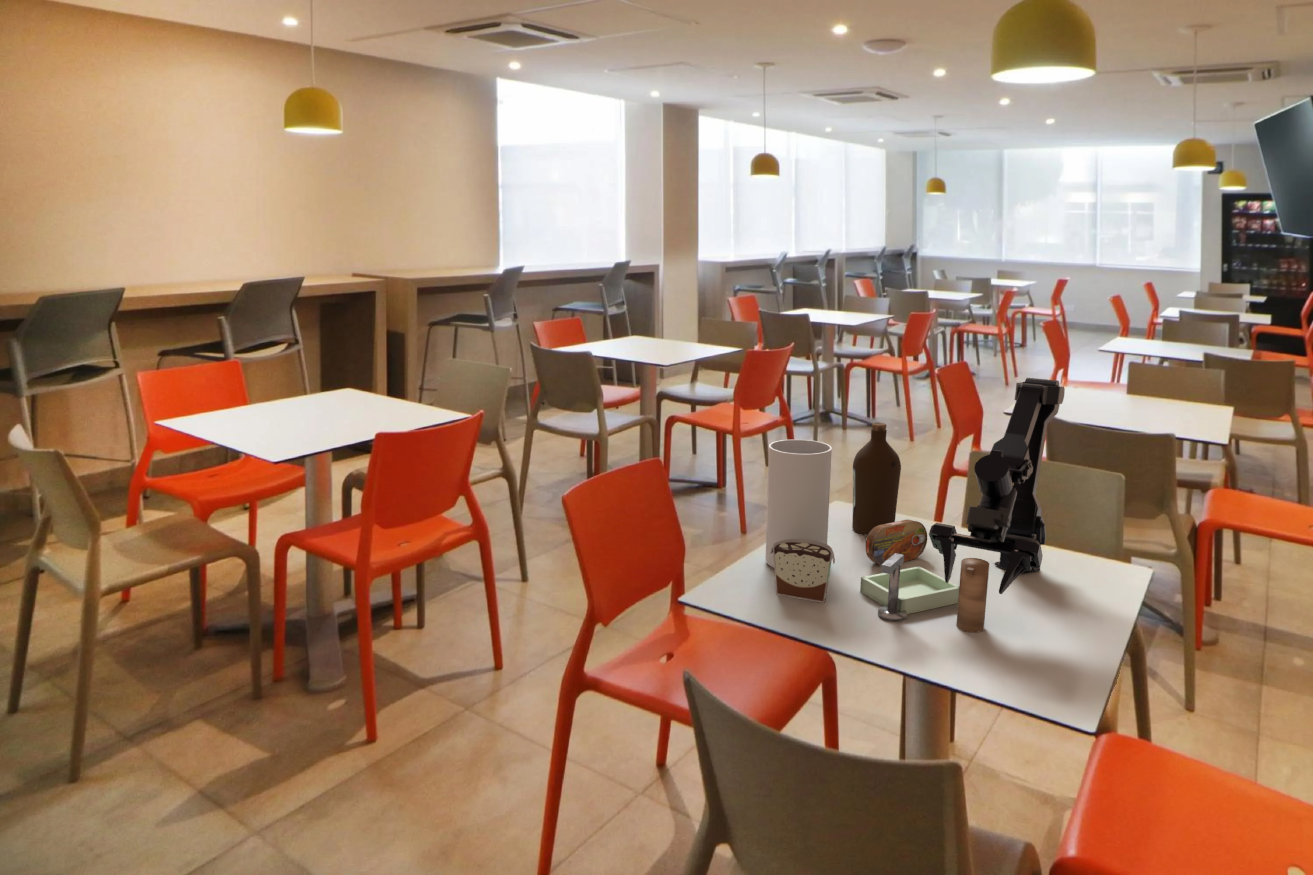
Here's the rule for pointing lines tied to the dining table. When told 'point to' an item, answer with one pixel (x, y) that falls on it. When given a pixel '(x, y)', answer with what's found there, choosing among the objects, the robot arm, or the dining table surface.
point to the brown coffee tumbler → (972, 594)
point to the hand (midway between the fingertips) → (972, 587)
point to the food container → (802, 568)
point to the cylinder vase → (797, 492)
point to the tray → (912, 590)
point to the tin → (896, 541)
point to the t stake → (892, 589)
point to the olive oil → (875, 482)
